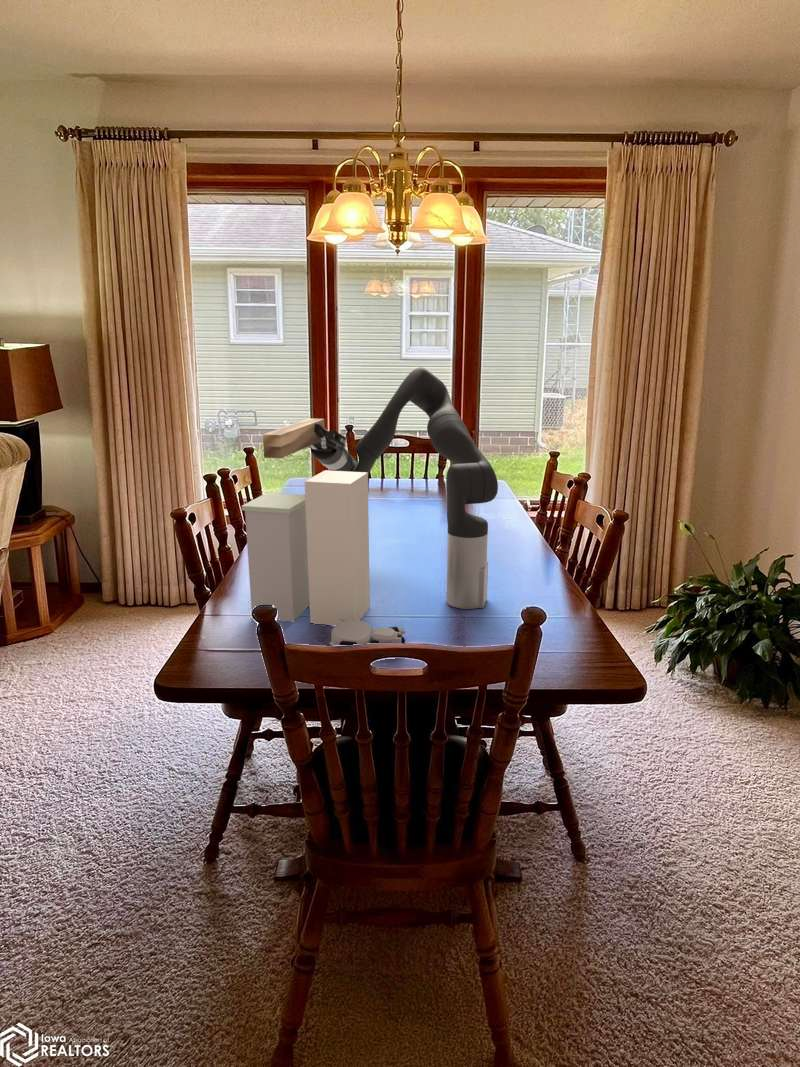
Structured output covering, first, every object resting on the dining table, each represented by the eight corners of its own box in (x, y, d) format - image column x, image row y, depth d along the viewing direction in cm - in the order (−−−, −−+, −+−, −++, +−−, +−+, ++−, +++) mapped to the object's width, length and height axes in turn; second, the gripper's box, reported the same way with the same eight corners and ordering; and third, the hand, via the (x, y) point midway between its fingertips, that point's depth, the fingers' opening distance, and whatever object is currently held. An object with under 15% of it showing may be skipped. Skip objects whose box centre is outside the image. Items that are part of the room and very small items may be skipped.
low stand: (316, 601, 170) (312, 495, 162) (294, 623, 158) (289, 508, 150) (273, 597, 172) (267, 492, 165) (249, 618, 160) (241, 505, 153)
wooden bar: (324, 439, 177) (324, 418, 175) (281, 458, 153) (280, 435, 151) (309, 438, 178) (309, 418, 176) (264, 457, 154) (262, 434, 152)
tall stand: (369, 608, 166) (367, 472, 157) (353, 628, 155) (350, 483, 146) (329, 604, 168) (324, 470, 159) (310, 623, 157) (304, 481, 148)
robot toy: (405, 641, 151) (335, 634, 152) (407, 621, 150) (336, 614, 150) (402, 667, 139) (325, 660, 140) (403, 646, 138) (326, 639, 139)
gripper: (306, 437, 189) (281, 411, 173) (357, 439, 185) (337, 412, 169) (302, 463, 187) (276, 440, 171) (353, 466, 184) (332, 442, 168)
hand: (306, 426), depth 170 cm, fingers closed on wooden bar, 4 cm apart
